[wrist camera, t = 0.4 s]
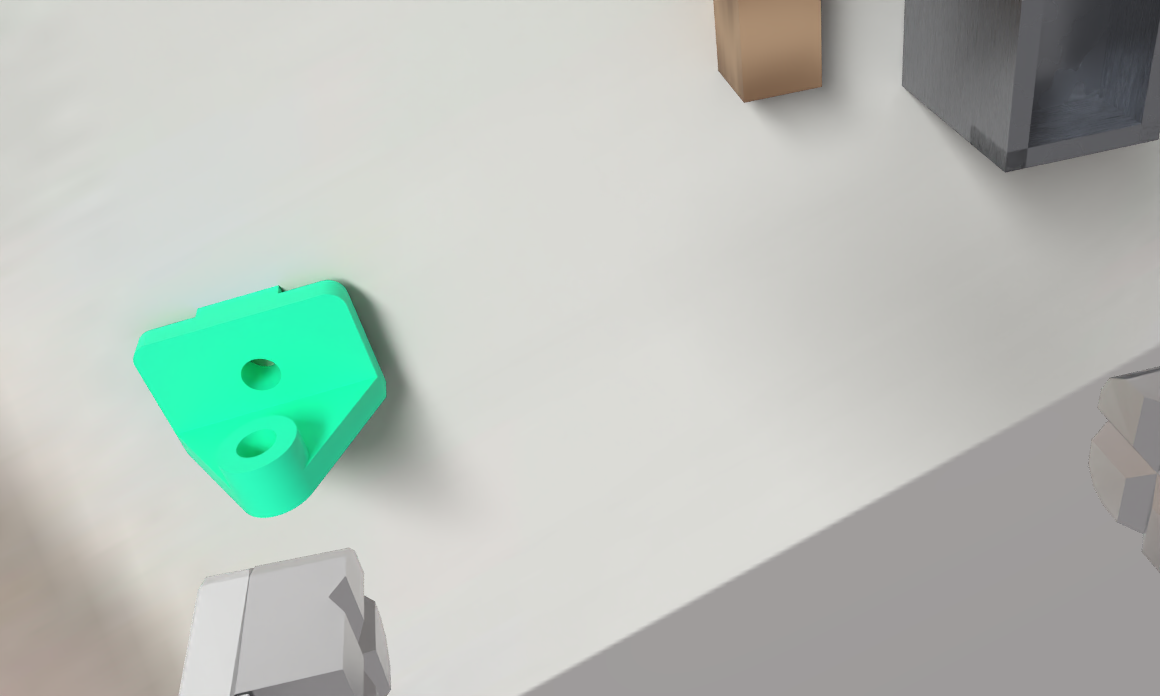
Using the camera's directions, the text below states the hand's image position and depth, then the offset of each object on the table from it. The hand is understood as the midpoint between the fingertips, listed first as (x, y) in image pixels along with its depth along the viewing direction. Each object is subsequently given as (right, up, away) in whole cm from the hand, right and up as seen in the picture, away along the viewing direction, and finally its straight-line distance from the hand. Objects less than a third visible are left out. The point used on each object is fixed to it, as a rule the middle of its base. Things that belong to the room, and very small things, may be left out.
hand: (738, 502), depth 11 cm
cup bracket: (+19, +20, +45) cm, 53 cm away
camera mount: (-20, +2, +50) cm, 54 cm away
